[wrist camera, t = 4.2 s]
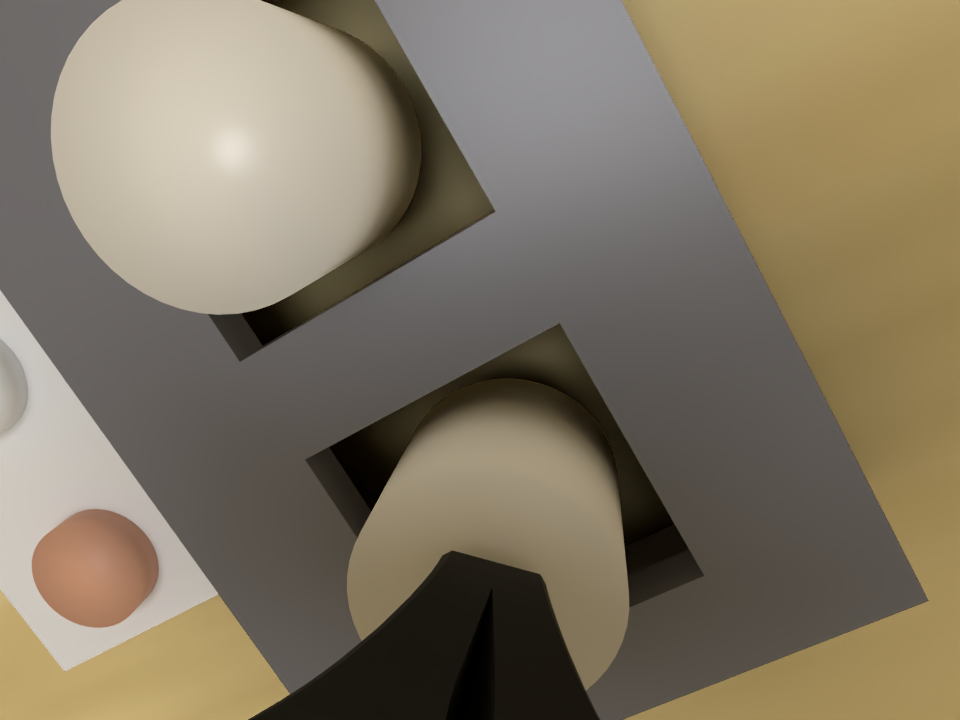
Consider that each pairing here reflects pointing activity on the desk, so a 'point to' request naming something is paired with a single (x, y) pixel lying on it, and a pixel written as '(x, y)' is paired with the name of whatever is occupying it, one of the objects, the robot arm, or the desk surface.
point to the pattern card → (77, 517)
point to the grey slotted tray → (479, 355)
